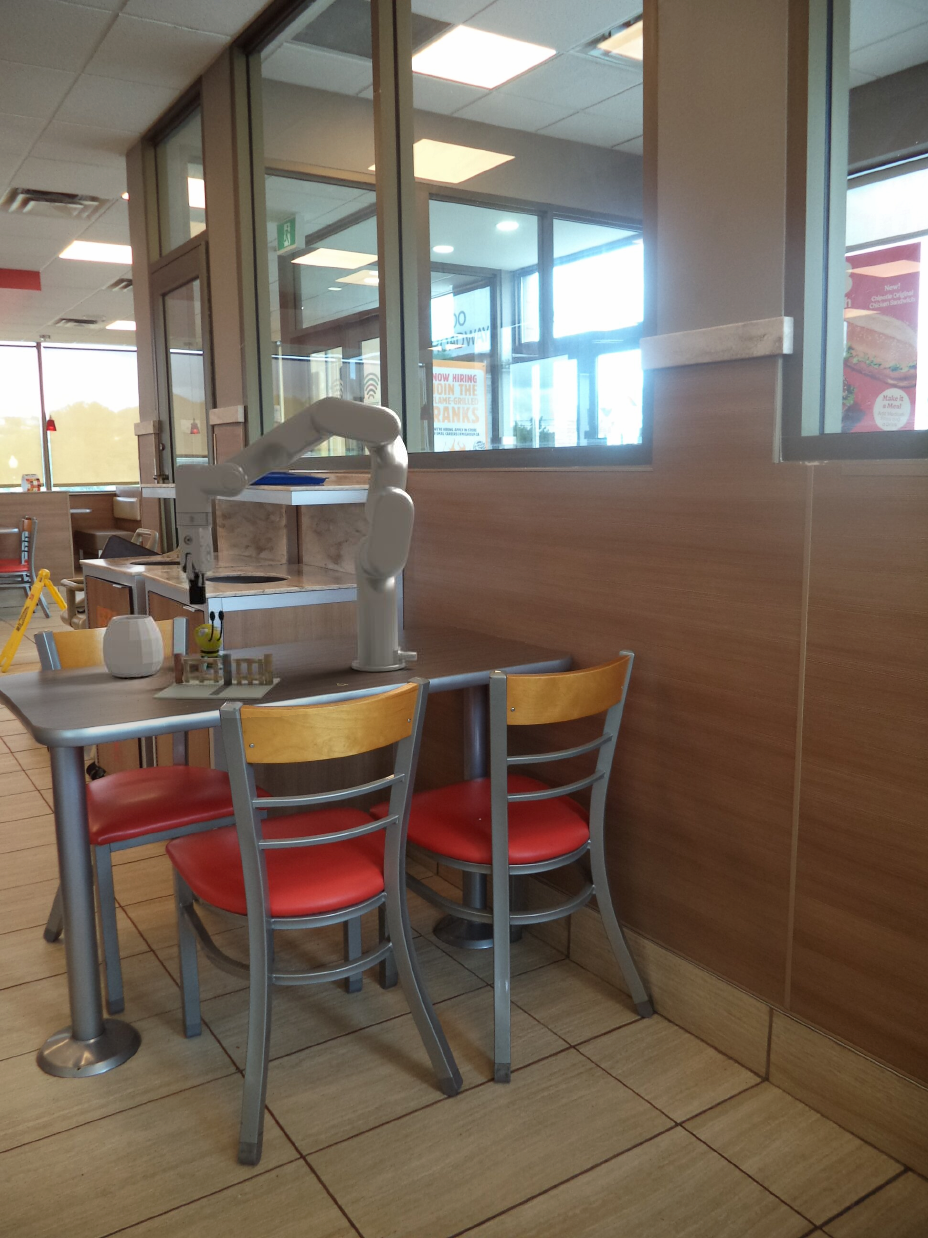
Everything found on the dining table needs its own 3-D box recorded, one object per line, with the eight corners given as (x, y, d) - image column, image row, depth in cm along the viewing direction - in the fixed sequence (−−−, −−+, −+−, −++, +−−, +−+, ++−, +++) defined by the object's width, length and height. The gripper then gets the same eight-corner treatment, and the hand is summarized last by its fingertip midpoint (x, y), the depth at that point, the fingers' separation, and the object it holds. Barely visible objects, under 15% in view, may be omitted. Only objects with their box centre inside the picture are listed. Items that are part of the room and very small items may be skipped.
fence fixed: (274, 685, 210) (273, 653, 209) (272, 687, 208) (271, 655, 207) (225, 685, 210) (223, 653, 209) (222, 687, 208) (221, 655, 207)
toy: (213, 610, 238) (230, 609, 225) (217, 667, 238) (235, 669, 225) (188, 612, 235) (203, 611, 222) (192, 669, 235) (208, 671, 222)
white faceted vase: (130, 683, 213) (126, 622, 211) (91, 677, 220) (88, 618, 218) (176, 673, 224) (174, 615, 222) (138, 667, 231) (135, 612, 229)
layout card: (280, 680, 215) (280, 678, 215) (259, 698, 196) (259, 696, 196) (182, 680, 216) (182, 678, 216) (152, 698, 197) (152, 696, 197)
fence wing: (223, 682, 210) (221, 653, 209) (220, 683, 208) (219, 654, 207) (176, 682, 210) (175, 653, 209) (174, 683, 209) (172, 654, 208)
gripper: (200, 522, 204) (204, 608, 206) (221, 519, 219) (224, 600, 221) (165, 522, 204) (169, 608, 207) (188, 519, 219) (191, 600, 222)
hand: (197, 603), depth 214 cm, fingers closed
